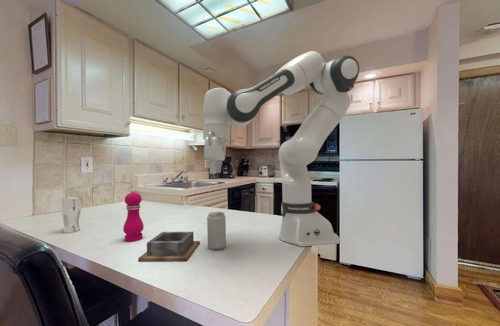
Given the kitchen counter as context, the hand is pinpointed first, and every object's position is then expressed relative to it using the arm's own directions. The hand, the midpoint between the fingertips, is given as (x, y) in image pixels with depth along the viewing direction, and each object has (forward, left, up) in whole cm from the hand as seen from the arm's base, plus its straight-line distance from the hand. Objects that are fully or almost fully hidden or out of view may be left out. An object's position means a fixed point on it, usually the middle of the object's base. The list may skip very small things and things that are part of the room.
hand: (215, 173), depth 78 cm
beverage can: (0, 0, -26) cm, 26 cm away
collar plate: (+14, +4, -26) cm, 30 cm away
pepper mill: (+35, -9, -26) cm, 44 cm away
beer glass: (+70, -20, -26) cm, 77 cm away
